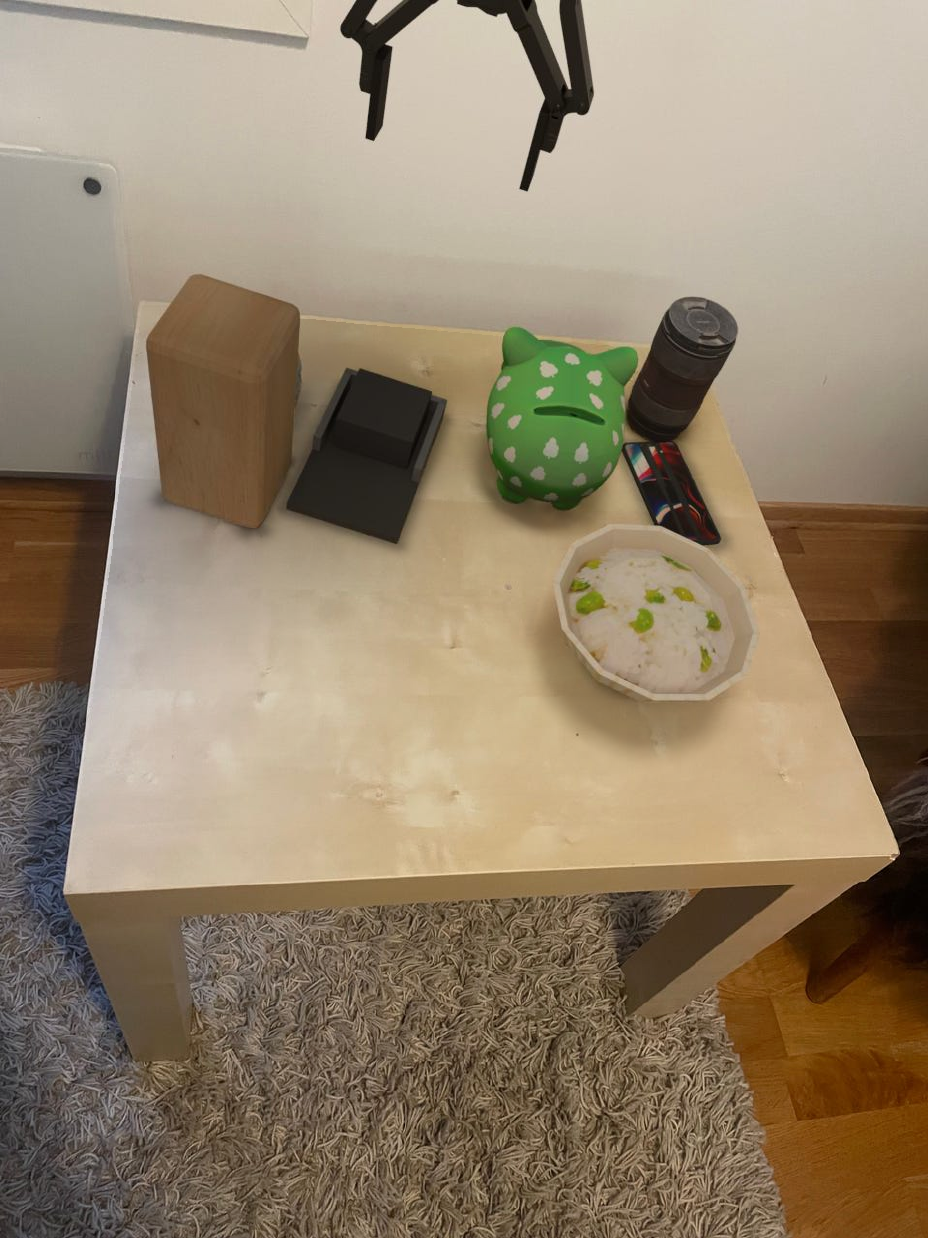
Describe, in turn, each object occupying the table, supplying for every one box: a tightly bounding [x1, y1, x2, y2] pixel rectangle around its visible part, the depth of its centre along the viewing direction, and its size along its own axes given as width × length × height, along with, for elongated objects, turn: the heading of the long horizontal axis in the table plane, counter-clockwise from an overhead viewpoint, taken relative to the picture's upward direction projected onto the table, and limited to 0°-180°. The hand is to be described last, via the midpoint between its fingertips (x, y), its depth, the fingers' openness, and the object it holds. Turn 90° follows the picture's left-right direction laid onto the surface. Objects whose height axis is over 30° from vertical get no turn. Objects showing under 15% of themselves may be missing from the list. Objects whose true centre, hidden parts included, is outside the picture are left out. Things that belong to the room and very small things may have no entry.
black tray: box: [286, 367, 448, 544], centre depth 96 cm, size 19×11×3 cm, turn 166°
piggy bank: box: [485, 326, 639, 511], centre depth 95 cm, size 14×18×15 cm
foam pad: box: [333, 367, 433, 469], centre depth 96 cm, size 8×8×4 cm
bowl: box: [552, 523, 761, 703], centre depth 85 cm, size 19×19×10 cm
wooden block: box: [145, 273, 301, 529], centre depth 83 cm, size 10×10×20 cm
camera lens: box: [626, 296, 739, 442], centre depth 103 cm, size 8×8×15 cm
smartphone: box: [621, 440, 722, 546], centre depth 103 cm, size 7×1×15 cm
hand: (450, 157), depth 79 cm, fingers open, 13 cm apart
